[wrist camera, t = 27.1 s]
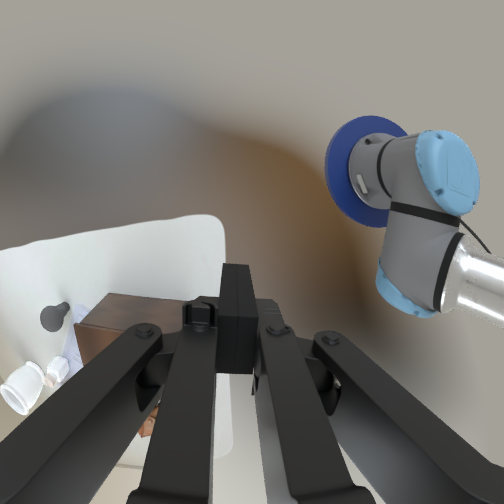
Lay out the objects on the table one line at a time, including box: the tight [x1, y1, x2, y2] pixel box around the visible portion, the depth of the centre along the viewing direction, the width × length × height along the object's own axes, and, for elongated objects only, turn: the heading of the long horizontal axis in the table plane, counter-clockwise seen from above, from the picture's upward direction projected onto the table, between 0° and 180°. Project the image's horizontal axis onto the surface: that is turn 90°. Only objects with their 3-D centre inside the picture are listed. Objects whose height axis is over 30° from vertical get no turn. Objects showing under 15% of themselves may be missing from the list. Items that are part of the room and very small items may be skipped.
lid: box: [74, 323, 124, 366], centre depth 40 cm, size 19×13×1 cm
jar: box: [0, 361, 45, 415], centre depth 48 cm, size 11×10×15 cm
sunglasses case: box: [138, 405, 159, 438], centre depth 59 cm, size 18×7×7 cm, turn 122°
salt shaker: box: [43, 356, 70, 388], centre depth 50 cm, size 4×4×10 cm
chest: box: [80, 293, 188, 334], centre depth 47 cm, size 18×13×14 cm
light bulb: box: [40, 302, 70, 332], centre depth 46 cm, size 6×6×10 cm
